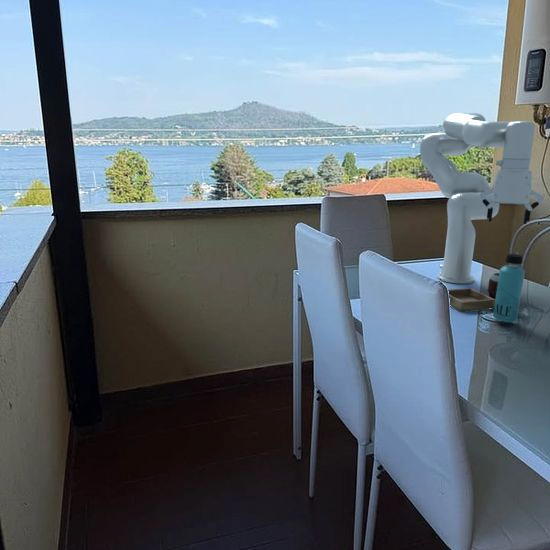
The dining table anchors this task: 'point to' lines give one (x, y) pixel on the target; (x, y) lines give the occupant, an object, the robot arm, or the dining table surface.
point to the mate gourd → (493, 284)
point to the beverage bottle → (509, 290)
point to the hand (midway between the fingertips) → (507, 222)
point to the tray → (469, 300)
